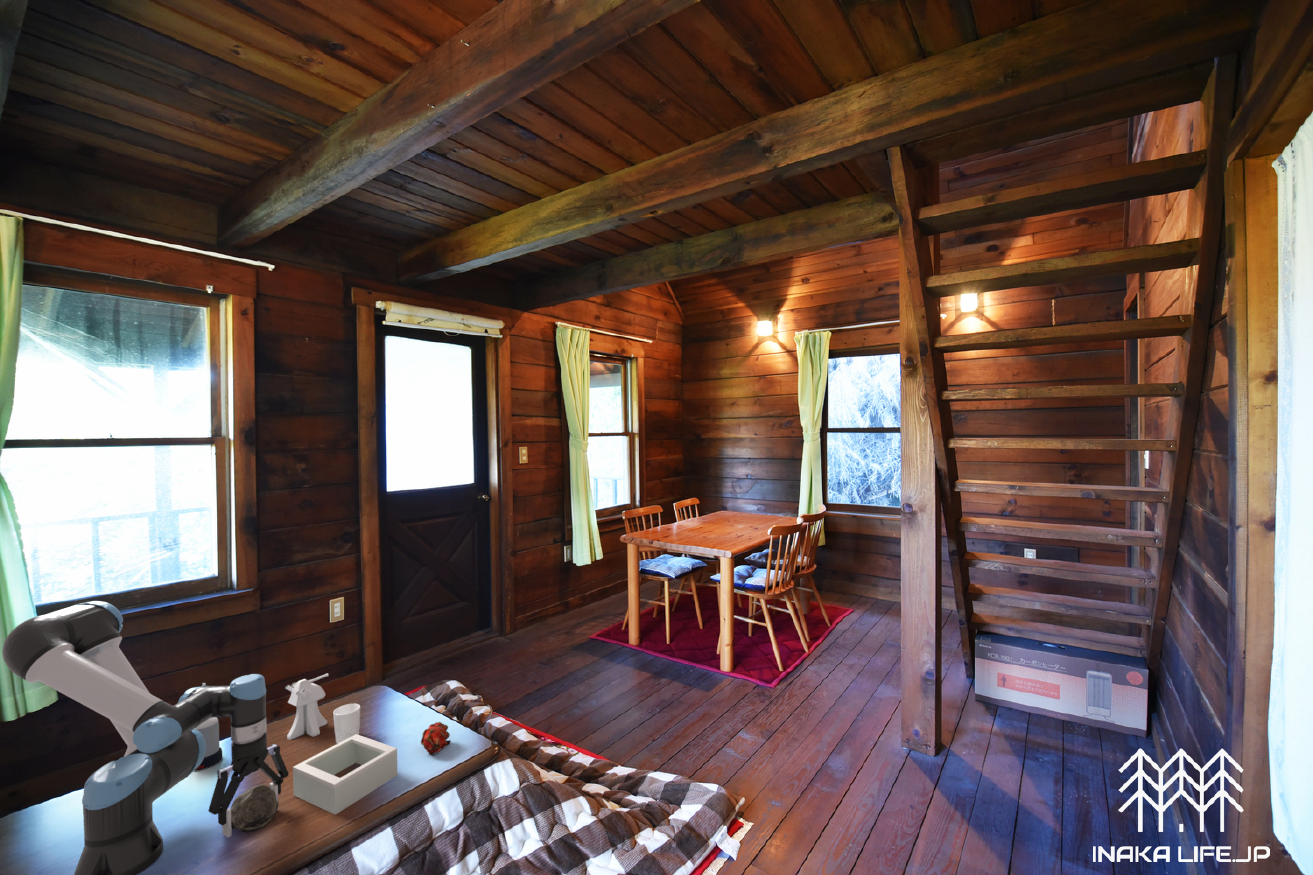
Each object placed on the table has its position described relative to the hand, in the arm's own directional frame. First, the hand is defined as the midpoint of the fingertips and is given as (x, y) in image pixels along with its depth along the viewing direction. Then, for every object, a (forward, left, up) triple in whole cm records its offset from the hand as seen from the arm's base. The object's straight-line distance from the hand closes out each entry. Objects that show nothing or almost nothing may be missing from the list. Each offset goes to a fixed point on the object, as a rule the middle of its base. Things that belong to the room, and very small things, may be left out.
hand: (251, 820), depth 145 cm
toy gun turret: (+35, +34, -1) cm, 49 cm away
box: (+21, -8, 0) cm, 22 cm away
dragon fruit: (+45, -17, -1) cm, 48 cm away
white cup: (+37, +16, -1) cm, 40 cm away
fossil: (0, 0, -1) cm, 1 cm away
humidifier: (+9, +44, -1) cm, 45 cm away
